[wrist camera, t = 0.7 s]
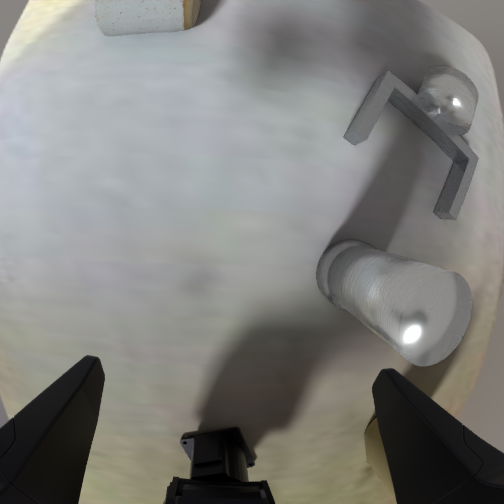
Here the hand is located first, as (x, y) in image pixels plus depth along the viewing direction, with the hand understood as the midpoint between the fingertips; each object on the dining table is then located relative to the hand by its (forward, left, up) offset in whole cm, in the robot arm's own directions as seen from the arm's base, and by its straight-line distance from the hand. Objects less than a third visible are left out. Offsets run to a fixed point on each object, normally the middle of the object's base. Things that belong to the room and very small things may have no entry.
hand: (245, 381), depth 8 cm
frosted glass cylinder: (-3, -10, -17) cm, 19 cm away
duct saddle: (+8, -21, -17) cm, 28 cm away
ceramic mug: (+27, 0, -17) cm, 31 cm away
